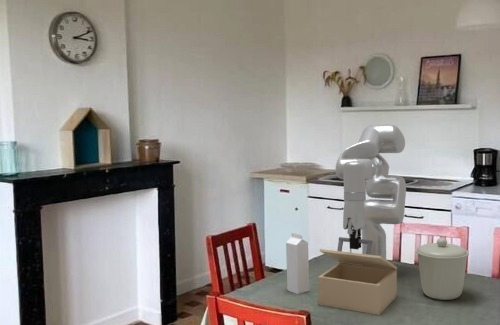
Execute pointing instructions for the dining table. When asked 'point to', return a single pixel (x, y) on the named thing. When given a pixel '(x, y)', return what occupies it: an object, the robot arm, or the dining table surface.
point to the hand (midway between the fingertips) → (355, 247)
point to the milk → (297, 264)
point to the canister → (442, 269)
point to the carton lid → (358, 255)
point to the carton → (357, 287)
